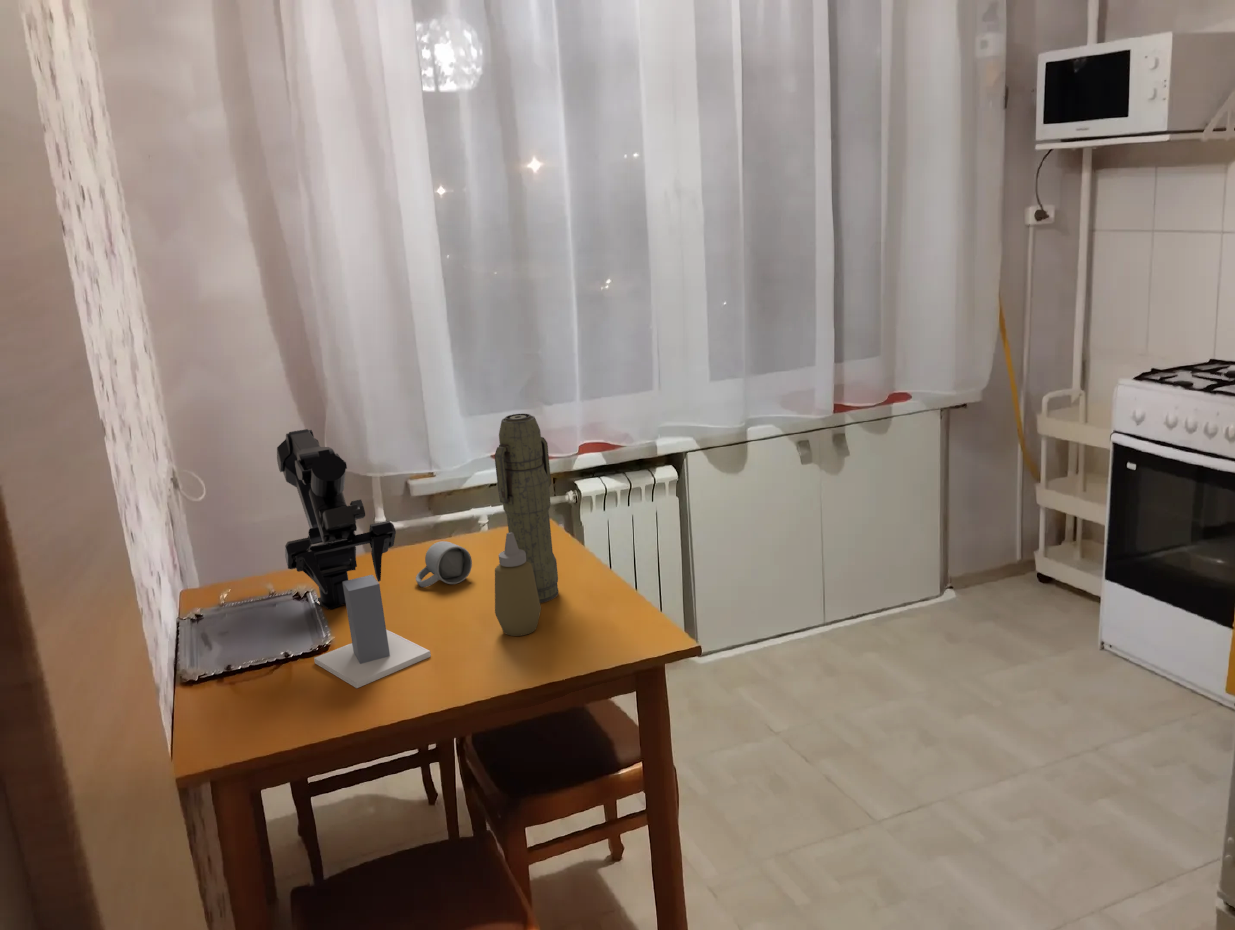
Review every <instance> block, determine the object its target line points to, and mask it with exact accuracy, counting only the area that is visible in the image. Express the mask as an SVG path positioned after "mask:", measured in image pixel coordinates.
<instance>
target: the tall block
mask: <svg viewBox="0 0 1235 930" xmlns="http://www.w3.org/2000/svg"><path fill="white" fill-rule="evenodd" d="M343 589H344V595H345V601H346V604H345V607H346V612H347V618H348V619H347V620H348V624H349V632H350V638H351V643H352V646H353V652H354V654H355V656H356V658H357V659H358V661H359V663H360V664H362V663H366V662H370V661H373V660H377V659H381V658H385V657H388V656H390V652H389V645H388V639H387V632H386V629H387V628H386V619H385V614H384V613H385V612H384V605H383V599H382V593H381V585H380V582H378V580H377V578H376V577H375V576H374V575H373V574H369V575H365V576H361V577H356V578H351V579H348V580H347V581H343Z"/></svg>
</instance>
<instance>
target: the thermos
mask: <svg viewBox="0 0 1235 930" xmlns="http://www.w3.org/2000/svg"><path fill="white" fill-rule="evenodd" d="M498 438H499V439H498V440H499V444H498V446H497V447H496V450H495V453H494V464H495V472H496V474H495V476H496V482H497V491H498V496H499V498H498V499H499V502H500V503H502V509H503V511H504V513H505V514H506V519H507V522H506V523H507V528H508V532H507V533H510V532H512V533H513V534H514V537H515V540H516V543H517V546H518V549H521V550H524V551H525V553H526V561H527V562H529V563H530V564H531V565H532V568H533V573H534V577H535V582H536V587H537V592H538V597H539V602H540V604H543V603H547V602H549V601H552V600H554V599H555V598H557V597H558V596H559V588H558V587H559V586H558V582H559V575H558V574H559V573H558V572H559V571H558V565H557V564H558V563H557V558H556V556H555V554H554V552H553V551H554V550H553V541H552V533H551V532H552V531H551V521H550V520H551V519H550V508H551V496H550V495H551V494H550V486H551V485H552V479H551V467H550V456H549V447H548V441H547V440H546V438H545V437H543V436H542V433H541V429H540V427H539V424H538V422H537V420H536V418H535V416H534V415H531V414H530V413H515V414H514V413H513V414H509V415H507V416H504V418H502V419H501V423H500V427H499V430H498Z"/></svg>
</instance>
